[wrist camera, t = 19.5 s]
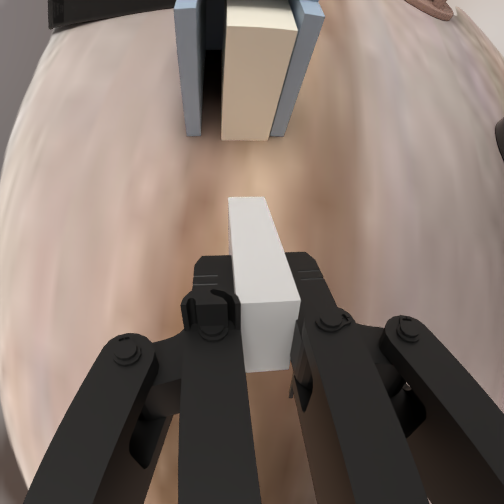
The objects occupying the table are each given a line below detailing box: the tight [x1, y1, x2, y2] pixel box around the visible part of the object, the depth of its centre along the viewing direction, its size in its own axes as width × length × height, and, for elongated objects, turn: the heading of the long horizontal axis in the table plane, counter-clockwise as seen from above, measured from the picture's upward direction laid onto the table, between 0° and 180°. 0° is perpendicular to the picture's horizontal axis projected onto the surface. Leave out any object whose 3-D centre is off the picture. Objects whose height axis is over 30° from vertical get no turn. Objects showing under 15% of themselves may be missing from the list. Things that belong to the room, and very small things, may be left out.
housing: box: [174, 0, 325, 137], centre depth 20 cm, size 14×8×14 cm, turn 3°
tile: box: [221, 0, 298, 141], centre depth 21 cm, size 13×4×12 cm, turn 3°
